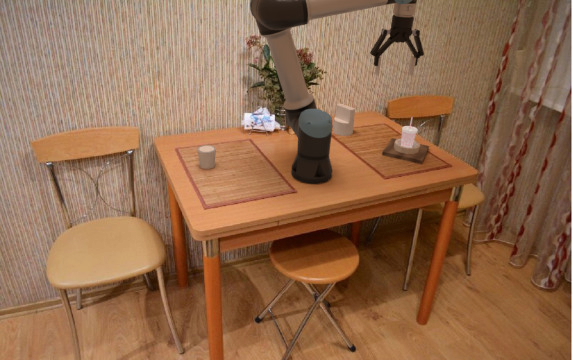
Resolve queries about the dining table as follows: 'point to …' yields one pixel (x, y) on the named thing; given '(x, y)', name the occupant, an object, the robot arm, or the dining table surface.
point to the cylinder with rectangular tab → (344, 120)
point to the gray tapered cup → (206, 156)
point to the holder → (415, 157)
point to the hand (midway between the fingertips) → (393, 74)
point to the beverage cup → (408, 135)
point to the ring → (406, 150)
